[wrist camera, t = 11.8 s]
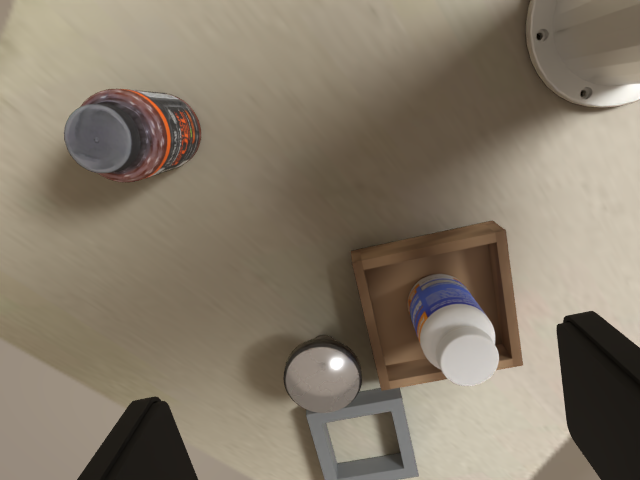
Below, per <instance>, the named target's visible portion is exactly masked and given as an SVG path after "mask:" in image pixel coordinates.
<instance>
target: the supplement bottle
mask: <svg viewBox="0 0 640 480" xmlns="http://www.w3.org/2000/svg"><path fill="white" fill-rule="evenodd" d="M64 139H65V143H66V146H67V149H68V151H69V153H70V155H71V156H72V157H73V159H74V160H75V161H76V162H77V163H78V164H79V165H81V166H82V167H83V168H85V169H87V170H89V171H92V172H95V173H98V174H99V175H101V176H103V177H105V178H107V179H110V180H113V181H118V182H134V181H139V180H142V179H145V178H148V177H151V176H154V175H157V174H160V173H162V172H165V171H168V170H171V169H174V168H177V167H179V166H181V165H183V164H185V163H186V162H188V161H189V160H190V159H191V158H192V157H193V156H194V155H195V153H196V152H197V150H198V147H199V144H200V140H201V128H200V124H199V120H198V118H197V116H196V114H195V112H194V111H193V110H192V108H191V107H190V106H189V105H188V104H187V103H186V102H185V101H183V100H181V99H180V98H178V97H176V96H173V95H170V94H165V93H157V92H146V91H137V90H127V89H108V90H104V91H100V92H98V93H96V94H94V95H92V96H90V97H89V98H88V99H86V101H85V102H84V103H83V104H82V105H81V107H80V108H78V109H76V110H75V111H74V112H73V113H72V114H71V115H70V116H69V118H68V120H67V122H66V125H65V130H64Z"/></svg>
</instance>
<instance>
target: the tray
mask: <svg viewBox="0 0 640 480" xmlns="http://www.w3.org/2000/svg"><path fill="white" fill-rule="evenodd" d="M351 258H352V265H353V270H354V274H355V278H356V282H357V287H358V291H359V295H360V300H361V304H362V308H363V313H364V317H365V321H366V326H367V330H368V334H369V339H370V343H371V347H372V352H373V356H374V360H375V365H376V369H377V373H378V378H379V382H380V386H381V390H382V391H383V390H389V389H394V388H400V387H405V386H411V385H416V384H422V383H427V382H433V381H439V380H444V379H447V378H446V377H445V376H444V374H443V373H442V371H441V369H439V368H437V367H435V366H434V365H433V364H431V363H430V362H429V360H428V359H427V358H426V356H425V354H424V352H423V350H422V348H421V345H420V342H419V339H418V337H417V334H416V331H415V328H414V326H413V323H412V320H411V317H410V315H409V311H408V297H409V294H410V291H411V289H412V288H413V286H414V285H415V284H416V283H417V282H418V281H420V280H421V279H423V278H425V277H427V276H429V275H433V274H446V275H450V276H453V277H455V278H456V279H458V280H459V281H461V282H462V283H463V284H464V285H465V287H466V288H467V289H468V291H469V292H470V294H471V295H472V296H473V298H474V299H475V301H476V302H477V303H478V305H479V306H480V307H481V309H482V310H483V311H484V313H485V314H486V316H487V317H488V318H489V320H490V321H491V323H492V325H493V328H494V331H495V346H496V348H497V350H498V354H499V363H498V366H497V369H496V370H500V369H505V368H511V367H516V366H522V365H523V361H522V353H521V346H520V338H519V330H518V322H517V314H516V307H515V299H514V291H513V283H512V276H511V268H510V260H509V252H508V244H507V237H506V230H505V229H503V228H502V227H500V226H499V225H498V224H496V223H495V222H494V221H488V222H484V223H479V224H474V225H470V226H465V227H460V228H456V229H451V230H446V231H442V232H437V233H432V234H428V235H423V236H418V237H414V238H409V239H404V240H400V241H395V242H390V243H386V244H381V245H376V246H372V247H367V248H362V249H358V250H353V251H351Z"/></svg>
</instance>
